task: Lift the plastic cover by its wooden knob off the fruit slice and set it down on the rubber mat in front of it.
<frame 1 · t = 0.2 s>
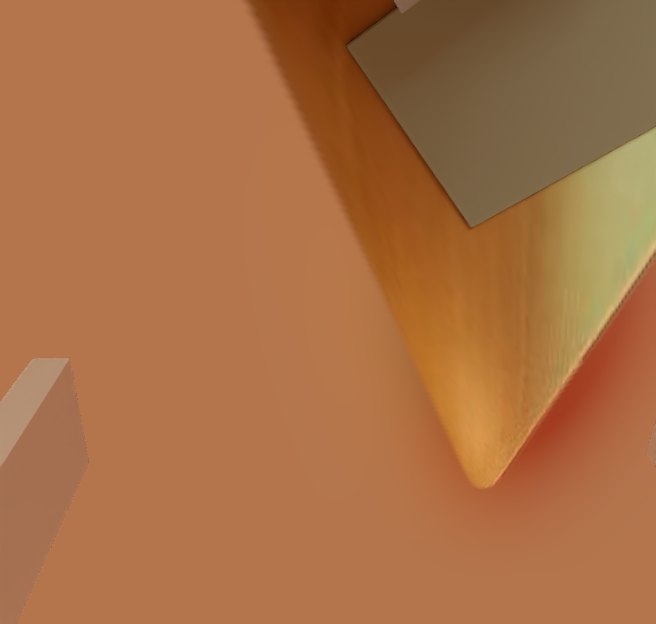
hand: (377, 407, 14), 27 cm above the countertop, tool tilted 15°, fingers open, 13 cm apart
mat: (526, 73, 36), on the countertop
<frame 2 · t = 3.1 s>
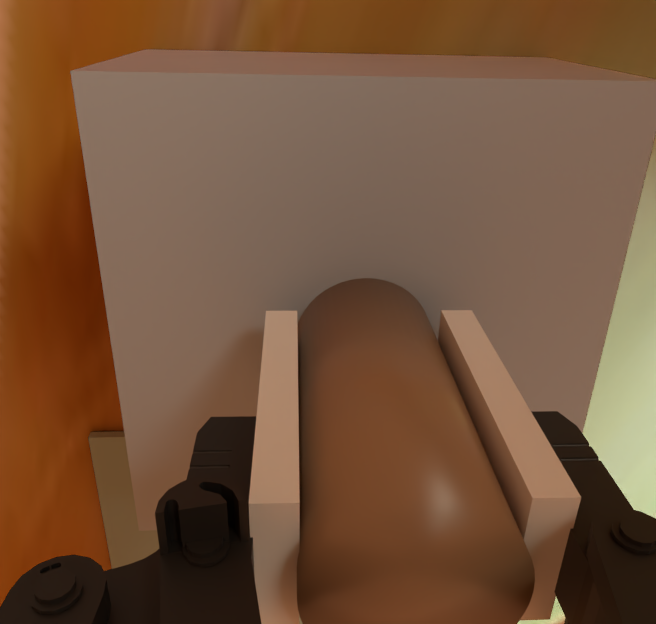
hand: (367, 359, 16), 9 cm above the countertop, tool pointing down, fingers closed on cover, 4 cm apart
mat: (270, 555, 30), on the countertop
cover: (343, 243, 23), on the countertop, touching gripper
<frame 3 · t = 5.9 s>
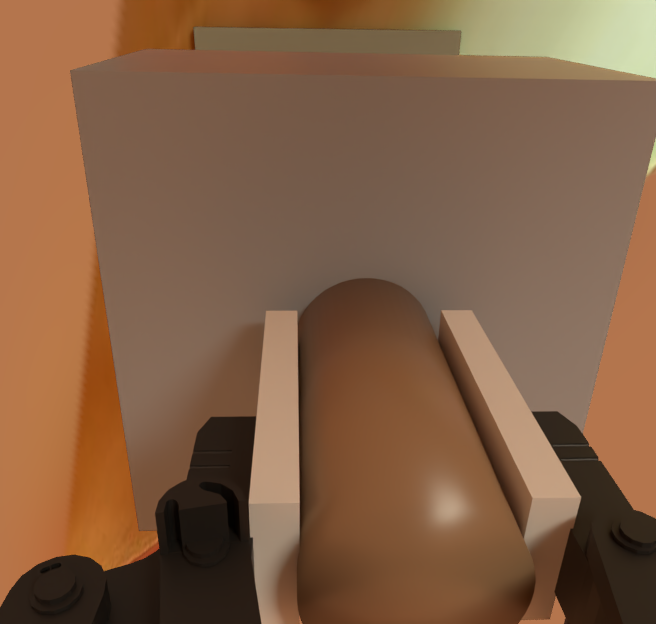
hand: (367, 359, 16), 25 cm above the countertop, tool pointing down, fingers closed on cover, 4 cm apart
mat: (326, 161, 39), on the countertop
cover: (343, 243, 23), point 17 cm above the countertop, touching gripper
when the fingers open (10 cm above the countertop, at t = 8.5 s): cover drops 1 cm, resting on mat.
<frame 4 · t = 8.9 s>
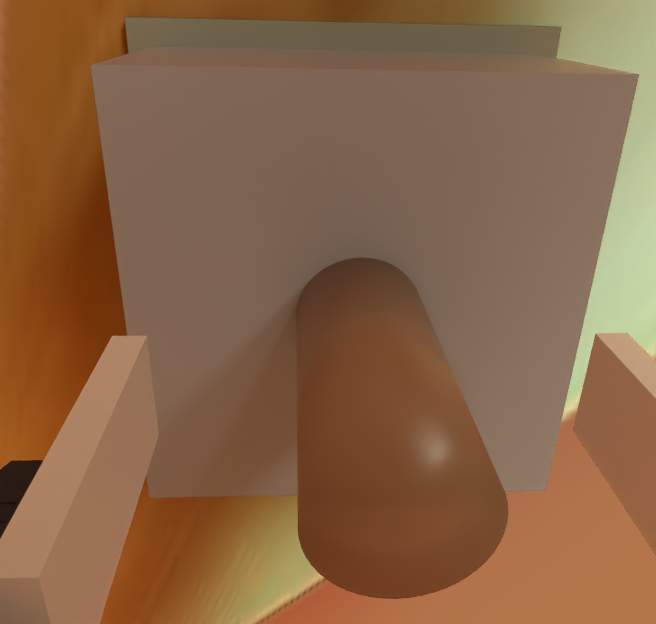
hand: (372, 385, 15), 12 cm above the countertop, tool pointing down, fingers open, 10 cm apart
mat: (339, 228, 25), on the countertop
cover: (341, 230, 25), resting on mat
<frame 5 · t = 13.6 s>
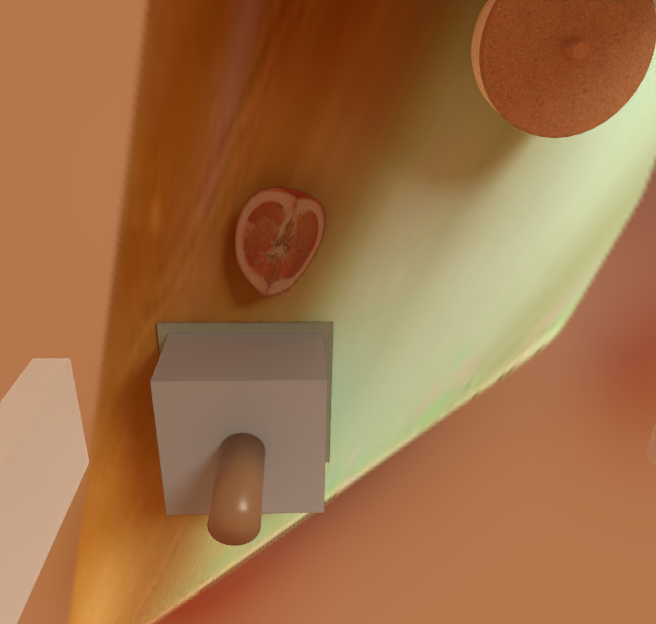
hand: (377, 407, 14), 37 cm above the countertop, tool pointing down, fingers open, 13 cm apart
lidded jar: (526, 42, 45), on the countertop
mat: (248, 395, 57), on the countertop
cover: (248, 397, 57), resting on mat
fruit slice: (279, 226, 50), on the countertop
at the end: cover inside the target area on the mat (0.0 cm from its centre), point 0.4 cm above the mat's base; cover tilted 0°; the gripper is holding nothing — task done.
